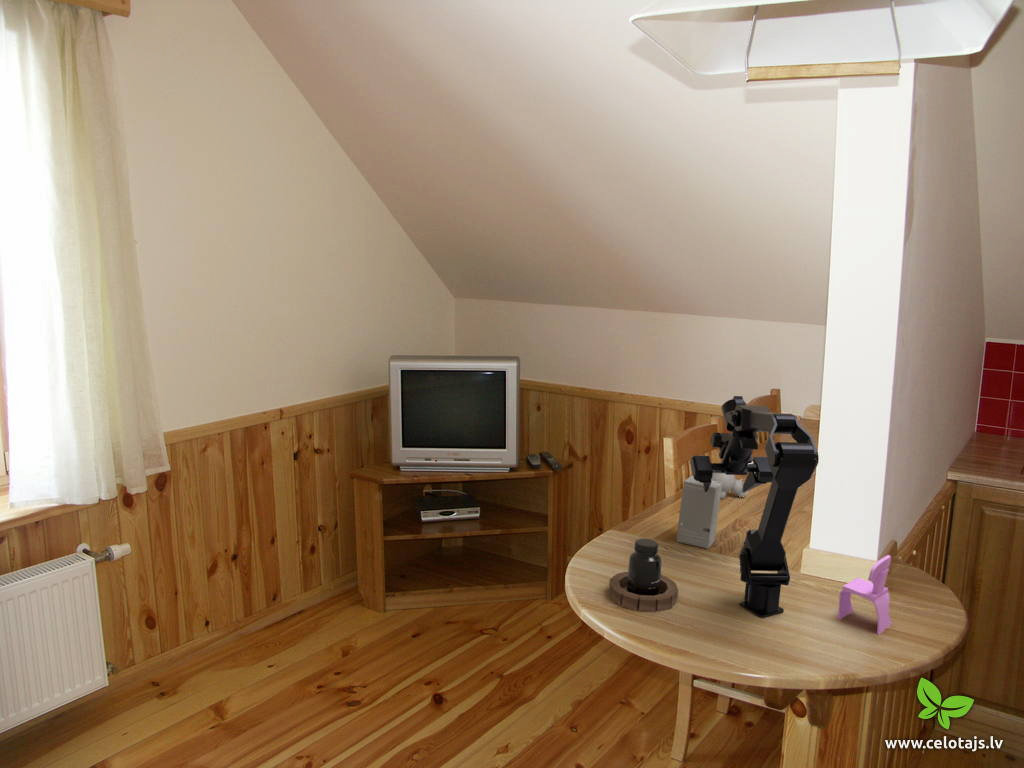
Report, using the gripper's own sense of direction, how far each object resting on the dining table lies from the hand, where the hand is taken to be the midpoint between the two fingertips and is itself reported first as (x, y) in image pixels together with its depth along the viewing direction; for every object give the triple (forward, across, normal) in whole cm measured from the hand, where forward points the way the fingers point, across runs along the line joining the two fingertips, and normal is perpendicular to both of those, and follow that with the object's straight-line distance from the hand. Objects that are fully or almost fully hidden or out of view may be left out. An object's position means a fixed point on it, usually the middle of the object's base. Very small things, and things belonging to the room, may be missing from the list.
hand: (724, 490), depth 197 cm
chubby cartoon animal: (+34, -14, -25) cm, 44 cm away
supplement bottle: (-1, +24, +30) cm, 38 cm away
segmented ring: (-1, +24, +30) cm, 38 cm away
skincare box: (+16, +4, +4) cm, 17 cm away
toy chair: (-7, -19, +38) cm, 43 cm away
